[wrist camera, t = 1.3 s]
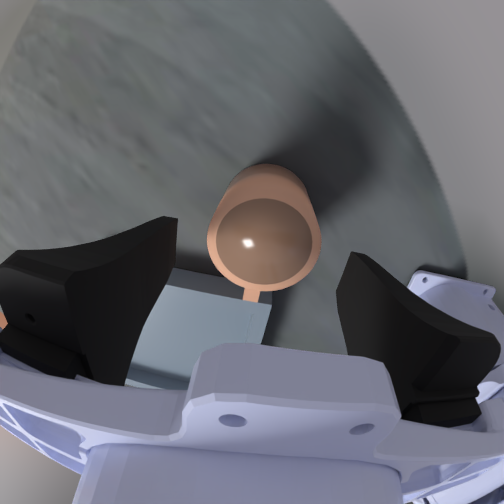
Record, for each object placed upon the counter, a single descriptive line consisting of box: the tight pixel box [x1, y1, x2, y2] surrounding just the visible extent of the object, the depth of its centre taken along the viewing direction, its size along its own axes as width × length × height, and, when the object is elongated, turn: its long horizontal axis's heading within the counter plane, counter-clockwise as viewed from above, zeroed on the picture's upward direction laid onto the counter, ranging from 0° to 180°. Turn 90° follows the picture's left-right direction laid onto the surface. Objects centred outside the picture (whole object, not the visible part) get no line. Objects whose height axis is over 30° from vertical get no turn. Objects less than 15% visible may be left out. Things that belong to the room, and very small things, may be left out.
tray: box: [125, 268, 272, 390], centre depth 22 cm, size 13×13×2 cm
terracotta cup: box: [207, 164, 321, 303], centre depth 16 cm, size 5×6×5 cm
